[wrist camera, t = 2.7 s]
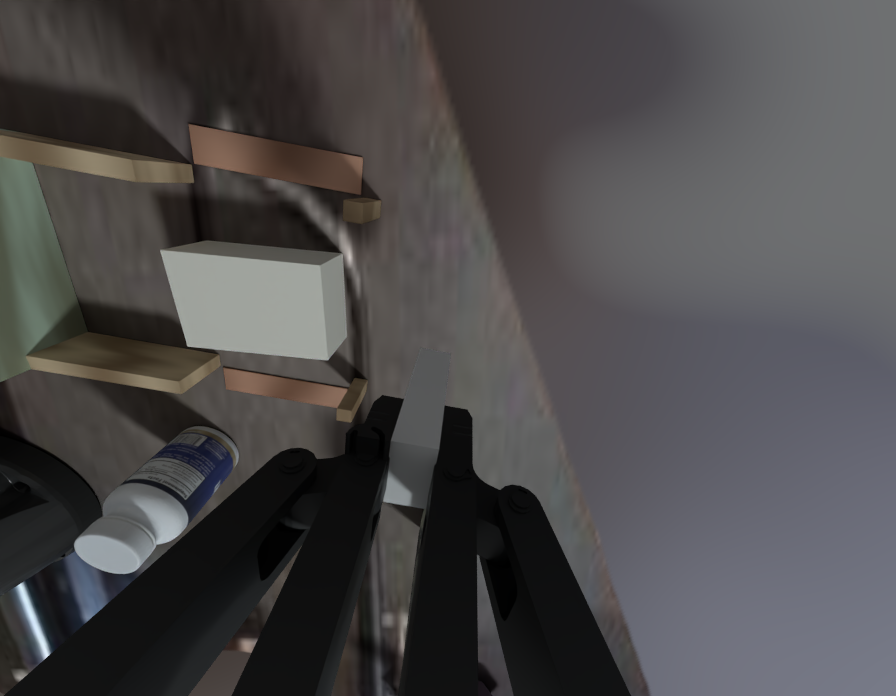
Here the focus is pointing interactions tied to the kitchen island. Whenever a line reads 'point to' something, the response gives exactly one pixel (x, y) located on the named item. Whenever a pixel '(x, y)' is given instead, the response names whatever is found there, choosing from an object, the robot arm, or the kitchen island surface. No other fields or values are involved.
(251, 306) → the cream block
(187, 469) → the pill bottle
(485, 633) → the kitchen island surface
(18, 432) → the kitchen island surface
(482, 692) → the flask
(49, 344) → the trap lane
